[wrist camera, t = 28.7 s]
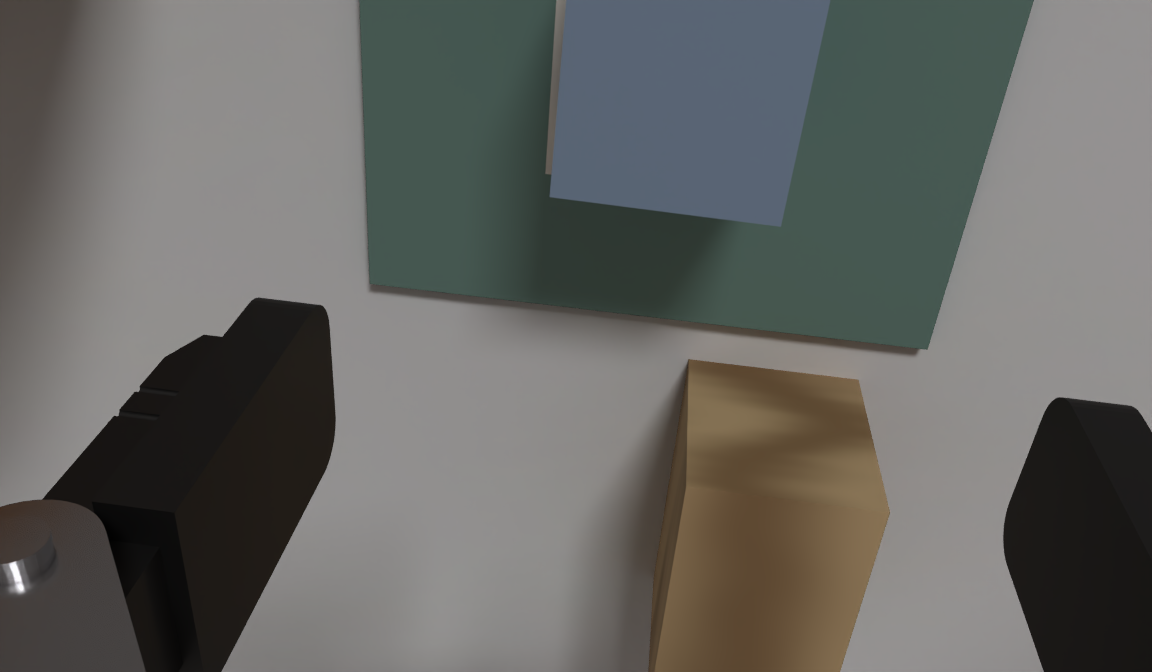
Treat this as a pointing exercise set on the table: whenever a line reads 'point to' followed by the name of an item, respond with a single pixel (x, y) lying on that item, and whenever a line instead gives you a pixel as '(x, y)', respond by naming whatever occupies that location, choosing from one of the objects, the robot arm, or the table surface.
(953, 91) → the letter board
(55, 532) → the robot arm
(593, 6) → the blue cube
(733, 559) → the block
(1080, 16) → the table surface
